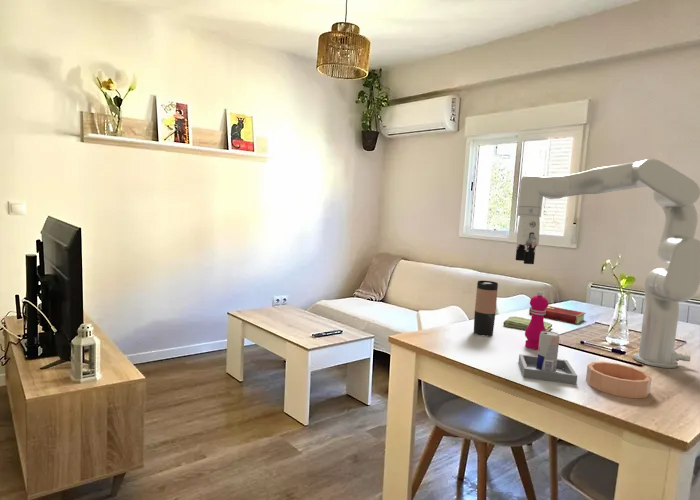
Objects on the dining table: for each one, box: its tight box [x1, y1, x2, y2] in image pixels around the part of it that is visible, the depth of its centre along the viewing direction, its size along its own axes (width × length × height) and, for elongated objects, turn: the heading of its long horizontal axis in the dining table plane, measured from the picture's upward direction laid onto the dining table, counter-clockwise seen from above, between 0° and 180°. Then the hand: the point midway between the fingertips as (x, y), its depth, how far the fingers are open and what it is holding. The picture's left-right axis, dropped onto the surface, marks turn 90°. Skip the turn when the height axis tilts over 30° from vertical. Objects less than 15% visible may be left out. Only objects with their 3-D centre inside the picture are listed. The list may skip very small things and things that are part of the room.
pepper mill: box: [524, 290, 549, 350], centre depth 162 cm, size 7×7×20 cm
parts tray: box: [518, 353, 578, 385], centre depth 137 cm, size 14×14×2 cm
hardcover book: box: [528, 305, 586, 325], centre depth 214 cm, size 12×21×4 cm, turn 47°
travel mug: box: [473, 280, 499, 337], centre depth 176 cm, size 8×8×20 cm
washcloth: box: [503, 316, 553, 331], centre depth 192 cm, size 13×18×3 cm
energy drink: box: [535, 330, 560, 372], centre depth 137 cm, size 5×5×12 cm
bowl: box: [585, 361, 652, 399], centre depth 129 cm, size 15×15×4 cm
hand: (524, 262), depth 159 cm, fingers open, 9 cm apart
